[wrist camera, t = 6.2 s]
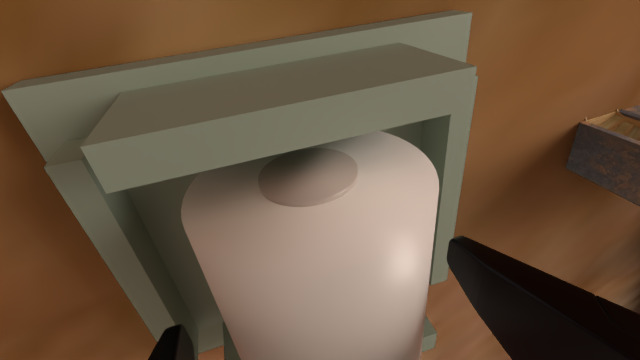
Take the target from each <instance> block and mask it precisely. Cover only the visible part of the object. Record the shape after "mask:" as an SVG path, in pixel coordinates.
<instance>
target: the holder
mask: <svg viewBox="0 0 640 360" xmlns="http://www.w3.org/2000/svg"><path fill="white" fill-rule="evenodd" d="M471 18H472V12H464V11H455V10H451V11H445V12H438V13H432V14H426V15H420V16H414V17H408V18H402V19H396V20H389V21H383V22H377V23H371V24H365V25H359V26H353V27H347V28H341V29H334V30H328V31H322V32H316V33H310V34H304V35H298V36H292V37H286V38H279V39H273V40H267V41H261V42H255V43H249V44H243V45H237V46H231V47H224V48H218V49H212V50H206V51H200V52H194V53H188V54H182V55H175V56H169V57H163V58H157V59H151V60H145V61H139V62H133V63H127V64H120V65H114V66H108V67H102V68H96V69H90V70H84V71H78V72H72V73H65V74H59V75H53V76H47V77H41V78H35V79H29V80H23V81H19V82H17V83H15V84H13V85H12V86H10V87H8V88H6V89H4V90H2V91H1V92H2V94H3V95H4V97H5V98H6V100H7V102H8V103H9V105H10V106H11V108H12V109H13V111H14V113H15V114H16V116H17V117H18V119H19V120H20V122H21V123H22V125H23V127H24V128H25V130H26V131H27V133H28V134H29V136H30V138H31V139H32V141H33V142H34V144H35V145H36V147H37V149H38V150H39V152H40V153H41V155H42V156H43V158H44V159H45V161H46V163H47V164H46V165H45V166H44V167H43V168H44V169H45V171H46V172H47V174H48V175H49V177H50V178H51V180H52V181H53V183H54V185H55V186H56V188H57V189H58V191H59V192H60V194H61V195H62V197H63V198H64V200H65V201H66V203H67V204H68V206H69V208H70V209H71V211H72V212H73V214H74V215H75V217H76V218H77V220H78V221H79V223H80V224H81V226H82V228H83V229H84V231H85V232H86V234H87V235H88V237H89V238H90V240H91V241H92V243H93V244H94V246H95V248H96V249H97V251H98V252H99V254H100V255H101V257H102V258H103V260H104V261H105V263H106V264H107V266H108V268H109V269H110V271H111V272H112V274H113V275H114V277H115V278H116V280H117V281H118V283H119V284H120V286H121V287H122V289H123V291H124V292H125V294H126V295H127V297H128V298H129V300H130V301H131V303H132V304H133V306H134V307H135V309H136V311H137V312H138V314H139V315H140V317H141V318H142V320H143V321H144V323H145V324H146V326H147V327H148V329H149V331H150V332H151V334H152V335H153V337H154V338H155V340H156V341H157V342H158V340H159V339H160V337H161V335H162V333H163V332H164V330H165V329H166V328H168V327H171V326H174V325H177V324H182V325H183V326H184V327H185V329H186V331H187V333H188V334H189V336H190V338H191V340H192V342H193V346H194V356H195V360H198V354H199V353H202V352H205V351H208V350H211V349H214V348H217V347H220V346H223V345H224V357H225V360H241V359H240V356H239V354H238V352H237V350H236V347H235V345H234V343H233V340H232V338H231V336H230V333H229V331H228V329H227V326H226V324H225V322H224V320H223V317H222V315H221V313H220V310H219V308H218V306H217V303H216V301H215V299H214V297H213V294H212V292H211V290H210V287H209V285H208V283H207V280H206V278H205V276H204V273H203V271H202V269H201V267H200V264H199V262H198V260H197V257H196V255H195V253H194V250H193V248H192V246H191V243H190V241H189V239H188V237H187V234H186V232H185V230H184V226H183V223H182V220H181V207H182V201H183V198H184V196H185V193H186V191H187V189H188V188H189V186H190V184H191V183H192V181H193V180H194V179H195V178H196V177H197V175H198V174H199V173H200V172H203V171H207V170H212V169H216V168H220V167H225V166H229V165H233V164H237V163H242V162H246V161H250V160H255V159H259V158H263V157H268V156H272V155H276V154H281V153H285V152H289V151H294V150H298V149H302V148H307V147H311V146H315V145H320V144H324V143H328V142H333V141H337V140H341V139H345V138H350V137H354V136H358V135H363V134H367V133H371V132H376V131H382V132H385V133H389V134H391V135H394V136H397V137H399V138H401V139H403V140H405V141H407V142H409V143H411V144H412V145H414V146H415V147H417V148H418V149H419V150H421V151H422V152H423V153H424V154H425V155H426V156H427V157H428V158H429V160H430V161H431V162H432V164H433V166H434V168H435V169H436V172H437V175H438V179H439V195H438V204H437V213H436V223H435V232H434V241H433V250H432V259H431V268H430V277H429V284H430V285H434V284H437V283H440V282H442V281H445V280H447V276H448V269H449V265H448V263H447V251H448V244H449V241H450V240H451V239H453V237H454V230H455V224H456V217H457V211H458V204H459V198H460V191H461V185H462V178H463V172H464V165H465V159H466V153H467V146H468V140H469V133H470V127H471V120H472V114H473V107H474V101H475V94H476V88H477V81H478V76H477V75H476V69H477V66H474V65H471V64H468V63H466V57H467V49H468V41H469V34H470V26H471ZM436 337H437V332H436V330H435V329H434V327H433V326H432V324H431V323H430V321H429V320H428V318H427V317H426V315H425V323H424V332H423V341H422V350H421V353H422V352H424V351H427V350H429V349H432V348H435V343H436Z"/></svg>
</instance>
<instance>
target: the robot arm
mask: <svg viewBox="0 0 640 360" xmlns="http://www.w3.org/2000/svg"><path fill="white" fill-rule="evenodd" d="M447 263H448V265H449V267H450V269H451V270H452V272H453V274H454V275H455V277H456V279H457V280H458V282H459V284H460V285H461V287H462V289H463V290H464V292H465V294H466V295H467V297H468V299H469V301H470V302H471V304H472V305H473V307H474V308H475V310H476V311H477V313H478V314H479V316H480V317H481V318H482V320H483V321H484V322H485V324H486V325H487V326H488V328H489V329H490V330H491V332H492V333H493V335H494V336H495V337H496V339H497V340H498V341H499V343H500V344H501V345H502V347H503V348H504V349H505V351H506V352H507V354H508V355H509V356H510V358H511V359H512V360H640V314H638V313H636V312H634V311H631V310H629V309H627V308H624V307H622V306H620V305H617V304H615V303H613V302H611V301H608V300H606V299H604V298H602V297H599V296H595V295H594V294H592V293H590V292H588V291H586V290H583V289H581V288H579V287H577V286H574V285H572V284H570V283H568V282H565V281H563V280H561V279H559V278H557V277H554V276H552V275H550V274H548V273H545V272H543V271H541V270H539V269H536V268H534V267H532V266H530V265H527V264H525V263H523V262H521V261H518V260H516V259H514V258H512V257H509V256H507V255H505V254H503V253H500V252H498V251H496V250H494V249H491V248H489V247H487V246H485V245H483V244H480V243H478V242H476V241H474V240H471V239H469V238H467V237H464V236H459V237H456V238H453V239H451V240H450V241H449V244H448V251H447ZM148 360H195V356H194V346H193V342H192V340H191V338H190V336H189V334H188V333H187V331H186V329H185V327H184V326H183V325H182V324H177V325H174V326H171V327H168V328H166V329H165V330H164V332H163V333H162V335H161V337H160V339H159V340H158V342H157V344H156V346H155V348H154V349H153V351H152V353H151V355H150V357H149V358H148Z"/></svg>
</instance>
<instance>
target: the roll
mask: <svg viewBox="0 0 640 360" xmlns="http://www.w3.org/2000/svg"><path fill="white" fill-rule="evenodd" d="M438 195H439V179H438V175H437V172H436V169H435V168H434V166H433V164H432V162H431V161H430V160H429V158H428V157H427V156H426V155H425V154H424V153H423V152H422V151H421V150H419V149H418V148H417V147H415V146H414V145H412V144H411V143H409V142H407V141H405V140H403V139H401V138H399V137H397V136H394V135H391V134H389V133H385V132H382V131H376V132H371V133H367V134H363V135H358V136H354V137H350V138H345V139H341V140H337V141H333V142H328V143H324V144H320V145H315V146H311V147H307V148H302V149H298V150H294V151H289V152H285V153H281V154H276V155H272V156H268V157H263V158H259V159H255V160H250V161H246V162H242V163H237V164H233V165H229V166H225V167H220V168H216V169H212V170H207V171H203V172H200V173H199V174H198V175H197V177H196V178H195V179H194V180H193V181H192V183H191V184H190V186H189V188H188V189H187V191H186V193H185V196H184V198H183V201H182V207H181V220H182V223H183V226H184V230H185V232H186V234H187V237H188V239H189V241H190V243H191V246H192V248H193V250H194V253H195V255H196V257H197V260H198V262H199V264H200V267H201V269H202V271H203V273H204V276H205V278H206V280H207V283H208V285H209V287H210V290H211V292H212V294H213V297H214V299H215V301H216V303H217V306H218V308H219V310H220V313H221V315H222V317H223V320H224V322H225V324H226V326H227V329H228V331H229V333H230V336H231V338H232V340H233V343H234V345H235V347H236V350H237V352H238V354H239V356H240V359H241V360H420V359H421V350H422V341H423V332H424V323H425V314H426V305H427V296H428V286H429V277H430V268H431V259H432V250H433V241H434V232H435V223H436V213H437V204H438Z"/></svg>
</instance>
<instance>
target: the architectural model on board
mask: <svg viewBox="0 0 640 360" xmlns="http://www.w3.org/2000/svg"><path fill="white" fill-rule="evenodd" d="M566 169H568V170H570V171H572V172H574V173H576V174H578V175H580V176H582V177H584V178H586V179H588V180H590V181H592V182H594V183H596V184H597V185H599V186H601V187H603V188H605V189H607V190H609V191H611V192H613V193H615V194H617V195H619V196H621V197H623V198H625V199H627V200H628V201H630V202H632V203H634V204H636V205H638V206H640V105H637V106H634V107H631V108H628V109H624V110H622V109H621V110H618V109H616V111H615V112H612V113H608V114H605V115H602V116H599V117H595V118H592V119H589V120H587V117H586V118H585V121H582V122H579V125H578V129H577V132H576V135H575V138H574V142H573V145H572V148H571V152H570V155H569V158H568V161H567V165H566Z"/></svg>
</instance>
